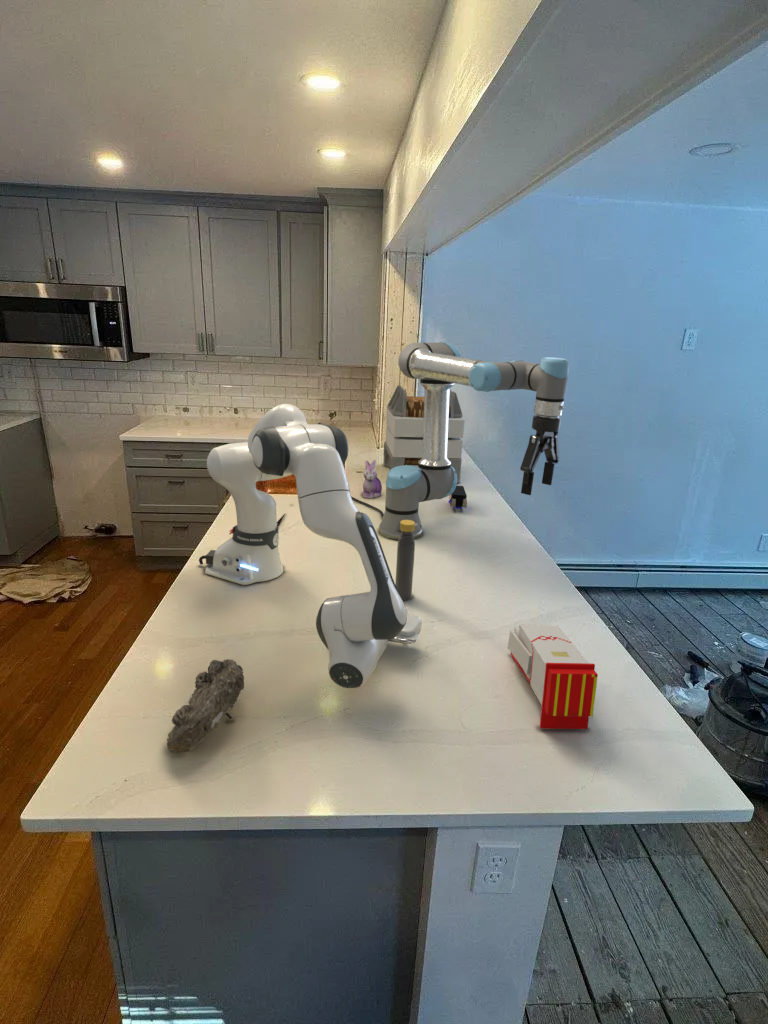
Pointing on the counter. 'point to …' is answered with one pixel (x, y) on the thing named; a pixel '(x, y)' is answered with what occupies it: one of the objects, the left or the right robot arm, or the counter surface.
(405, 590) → the bottle
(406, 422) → the transformer
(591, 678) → the toy
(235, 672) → the grey elongated lump
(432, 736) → the counter surface
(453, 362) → the right robot arm
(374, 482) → the figurine
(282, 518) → the feather
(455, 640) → the counter surface
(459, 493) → the figurine character
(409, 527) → the cap
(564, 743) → the counter surface
